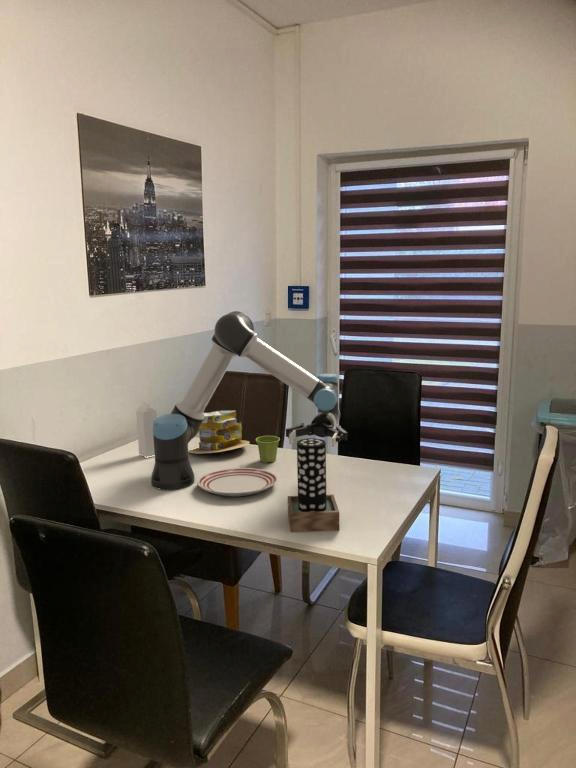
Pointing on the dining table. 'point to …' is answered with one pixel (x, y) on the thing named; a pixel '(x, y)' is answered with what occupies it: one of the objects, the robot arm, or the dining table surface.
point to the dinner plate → (237, 481)
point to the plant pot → (267, 448)
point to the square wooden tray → (313, 516)
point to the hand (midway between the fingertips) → (311, 441)
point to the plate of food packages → (219, 433)
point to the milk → (145, 429)
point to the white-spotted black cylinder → (311, 474)
